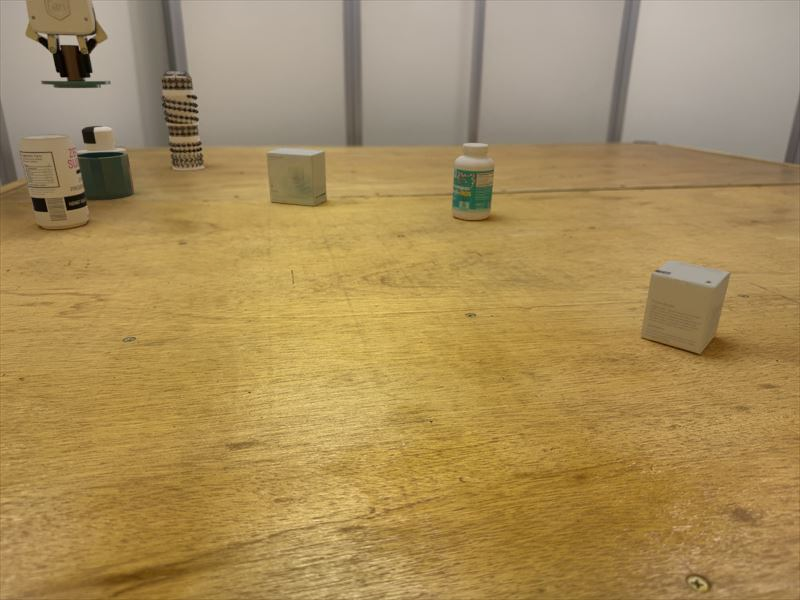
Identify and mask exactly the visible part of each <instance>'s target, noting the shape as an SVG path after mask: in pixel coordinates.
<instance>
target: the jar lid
mask: <svg viewBox="0 0 800 600" xmlns="http://www.w3.org/2000/svg"><path fill="white" fill-rule="evenodd" d="M60 49H61V53H62V57H63V62H64V67H65V72H66V79H41V80H40V84H41V85H49V86H50V85H51V86H53V88H54V89H101V88H102V86H103V85H106V86H107V85H112V82H111V80H105V79H104V80H102V79H86V78H84V77H82V72H81V67H80V62H79V57H78V55H79V54H80V47H79V44H60Z"/></svg>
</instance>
